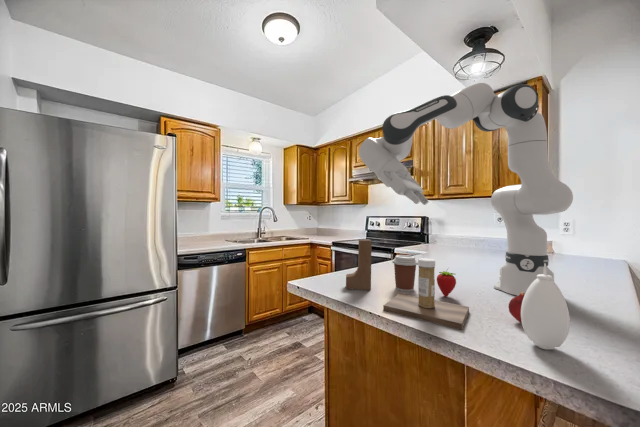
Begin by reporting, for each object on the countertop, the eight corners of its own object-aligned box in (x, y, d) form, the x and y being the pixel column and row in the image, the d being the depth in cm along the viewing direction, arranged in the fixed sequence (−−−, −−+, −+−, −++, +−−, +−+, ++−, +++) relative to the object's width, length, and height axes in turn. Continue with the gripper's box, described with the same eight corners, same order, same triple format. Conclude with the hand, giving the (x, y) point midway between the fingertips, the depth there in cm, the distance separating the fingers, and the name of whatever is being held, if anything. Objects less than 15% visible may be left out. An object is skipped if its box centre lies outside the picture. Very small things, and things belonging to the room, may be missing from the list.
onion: (542, 329, 64) (542, 296, 64) (515, 327, 65) (516, 295, 65) (528, 319, 69) (528, 289, 69) (504, 317, 71) (504, 288, 71)
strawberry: (452, 293, 91) (453, 265, 91) (458, 301, 83) (459, 270, 83) (434, 292, 92) (434, 264, 92) (438, 299, 85) (439, 268, 85)
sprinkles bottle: (438, 308, 73) (438, 260, 73) (424, 309, 72) (424, 261, 72) (428, 302, 77) (428, 257, 77) (414, 303, 76) (414, 258, 76)
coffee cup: (422, 289, 95) (423, 257, 95) (408, 294, 90) (408, 259, 90) (401, 283, 102) (402, 253, 102) (386, 287, 97) (387, 255, 97)
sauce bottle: (522, 350, 54) (524, 263, 54) (518, 335, 61) (519, 258, 60) (574, 362, 50) (576, 268, 50) (563, 344, 56) (564, 262, 56)
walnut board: (399, 297, 86) (399, 293, 86) (468, 312, 74) (469, 306, 74) (383, 310, 75) (383, 305, 75) (461, 329, 63) (461, 323, 63)
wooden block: (345, 289, 95) (346, 240, 94) (346, 285, 99) (346, 238, 99) (371, 290, 94) (371, 240, 93) (369, 286, 98) (370, 239, 98)
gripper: (388, 162, 79) (421, 193, 73) (409, 171, 95) (437, 197, 89) (374, 178, 81) (405, 209, 76) (397, 184, 98) (423, 210, 92)
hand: (422, 203), depth 83 cm, fingers open, 8 cm apart
